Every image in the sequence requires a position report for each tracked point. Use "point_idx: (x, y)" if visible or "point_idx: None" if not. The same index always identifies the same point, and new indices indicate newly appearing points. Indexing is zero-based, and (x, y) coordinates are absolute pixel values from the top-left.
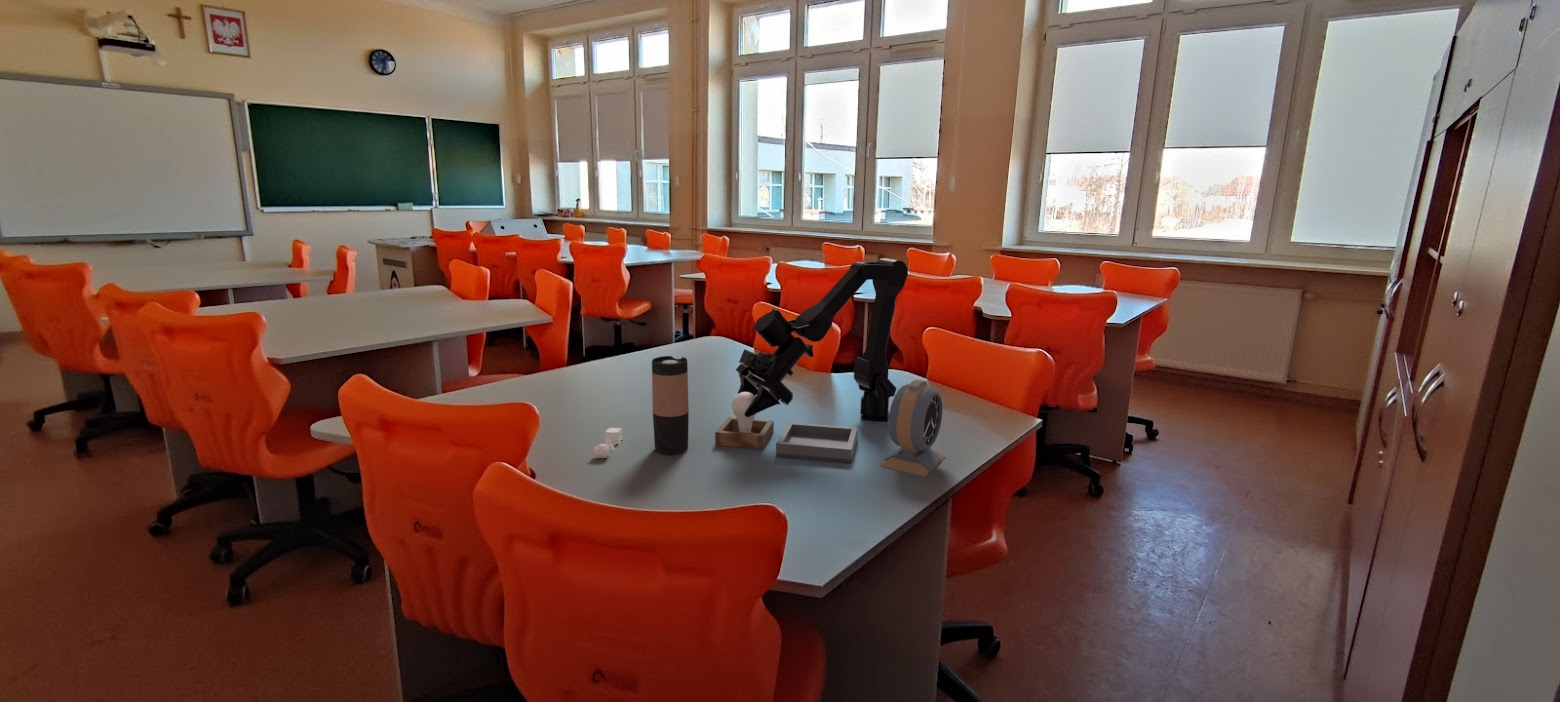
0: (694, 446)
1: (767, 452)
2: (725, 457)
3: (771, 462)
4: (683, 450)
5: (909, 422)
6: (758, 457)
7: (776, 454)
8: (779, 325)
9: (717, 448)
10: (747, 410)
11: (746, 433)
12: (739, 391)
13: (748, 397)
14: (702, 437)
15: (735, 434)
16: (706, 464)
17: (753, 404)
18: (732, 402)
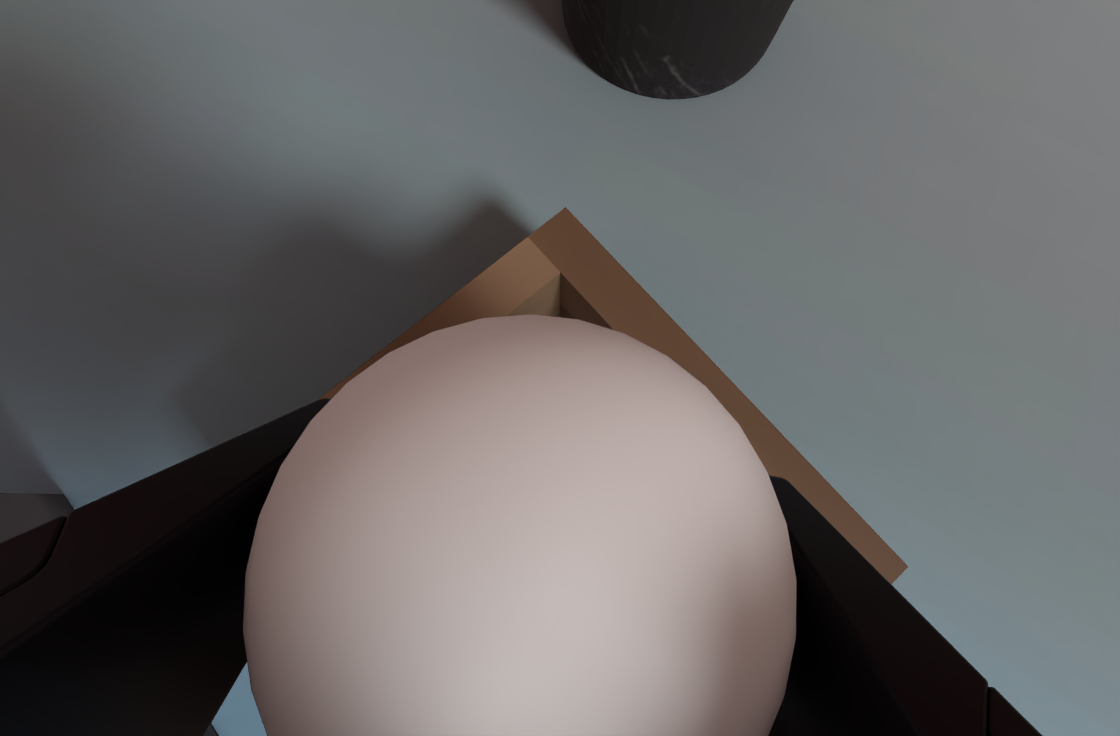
0: (628, 138)
1: None
2: (322, 193)
3: (13, 394)
4: (565, 19)
5: None
6: (155, 374)
7: (43, 496)
8: None
9: (498, 238)
10: (280, 425)
11: None
12: (982, 727)
13: (294, 537)
14: (761, 270)
15: (414, 326)
16: (311, 48)
17: (105, 497)
18: (625, 334)
